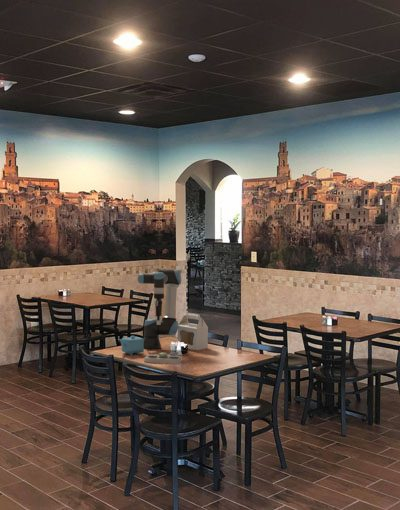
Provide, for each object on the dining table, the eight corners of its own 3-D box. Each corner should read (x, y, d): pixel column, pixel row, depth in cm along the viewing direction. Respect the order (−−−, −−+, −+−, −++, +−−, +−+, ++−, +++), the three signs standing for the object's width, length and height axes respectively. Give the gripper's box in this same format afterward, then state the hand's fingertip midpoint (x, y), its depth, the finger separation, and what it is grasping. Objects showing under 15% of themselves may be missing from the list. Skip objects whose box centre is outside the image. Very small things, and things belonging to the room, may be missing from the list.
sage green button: (160, 354, 469) (160, 352, 469) (168, 354, 468) (168, 352, 468) (158, 356, 463) (158, 353, 463) (166, 356, 462) (166, 354, 462)
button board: (148, 358, 473) (148, 354, 473) (181, 360, 469) (181, 356, 469) (144, 362, 462) (144, 357, 461) (178, 363, 457) (178, 359, 457)
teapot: (140, 351, 501) (140, 333, 500) (146, 353, 492) (147, 336, 491) (114, 354, 489) (114, 336, 488) (120, 356, 480) (121, 338, 479)
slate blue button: (170, 353, 467) (170, 351, 467) (178, 354, 466) (178, 352, 466) (168, 355, 461) (168, 353, 461) (177, 356, 460) (177, 353, 460)
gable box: (177, 346, 523) (177, 312, 522) (188, 344, 533) (189, 311, 531) (196, 350, 508) (197, 315, 507) (208, 348, 517) (208, 313, 516)
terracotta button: (149, 352, 470) (149, 350, 470) (157, 353, 469) (157, 351, 469) (147, 354, 464) (147, 352, 464) (155, 354, 463) (155, 352, 463)
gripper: (156, 292, 485) (155, 323, 486) (151, 293, 472) (151, 325, 473) (165, 292, 484) (165, 323, 485) (161, 294, 471) (161, 326, 472)
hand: (158, 324), depth 479 cm, fingers closed
